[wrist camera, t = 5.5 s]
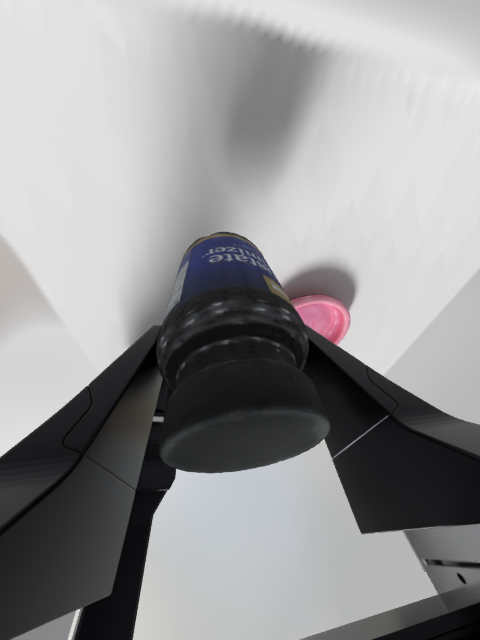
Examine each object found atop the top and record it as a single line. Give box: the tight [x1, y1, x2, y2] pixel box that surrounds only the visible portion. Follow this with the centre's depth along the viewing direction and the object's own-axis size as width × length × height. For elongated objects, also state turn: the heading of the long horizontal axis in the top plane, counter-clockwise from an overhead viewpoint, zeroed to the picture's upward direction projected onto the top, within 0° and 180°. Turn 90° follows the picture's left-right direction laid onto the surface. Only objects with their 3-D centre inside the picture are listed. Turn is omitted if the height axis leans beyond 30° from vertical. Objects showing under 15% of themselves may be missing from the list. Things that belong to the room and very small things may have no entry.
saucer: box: [291, 295, 350, 345], centre depth 26 cm, size 12×12×3 cm
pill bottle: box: [156, 232, 330, 473], centre depth 9 cm, size 6×6×11 cm
